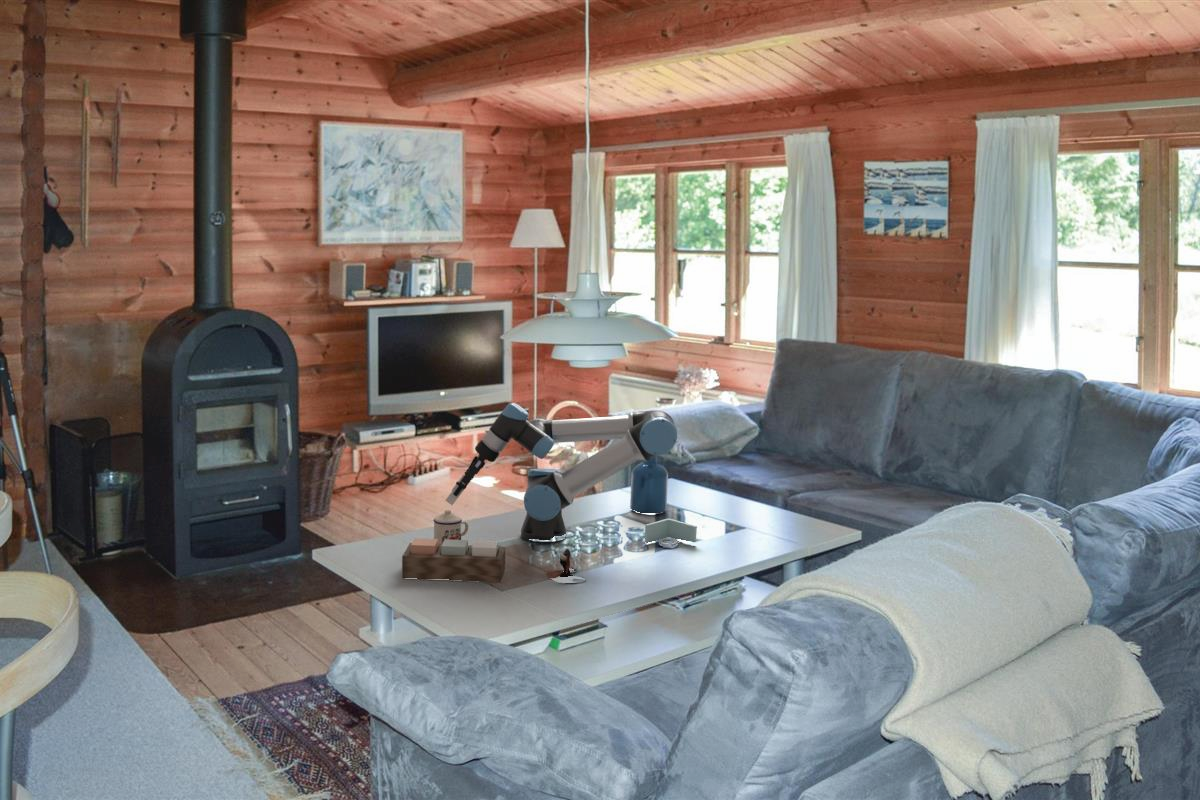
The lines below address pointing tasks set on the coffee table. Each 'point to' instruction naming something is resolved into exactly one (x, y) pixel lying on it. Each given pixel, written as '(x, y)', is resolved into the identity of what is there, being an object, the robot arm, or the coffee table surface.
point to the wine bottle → (649, 487)
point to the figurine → (565, 563)
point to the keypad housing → (454, 566)
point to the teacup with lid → (448, 527)
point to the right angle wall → (670, 531)
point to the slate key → (454, 547)
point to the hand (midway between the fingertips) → (451, 497)
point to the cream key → (485, 548)
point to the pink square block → (424, 546)
